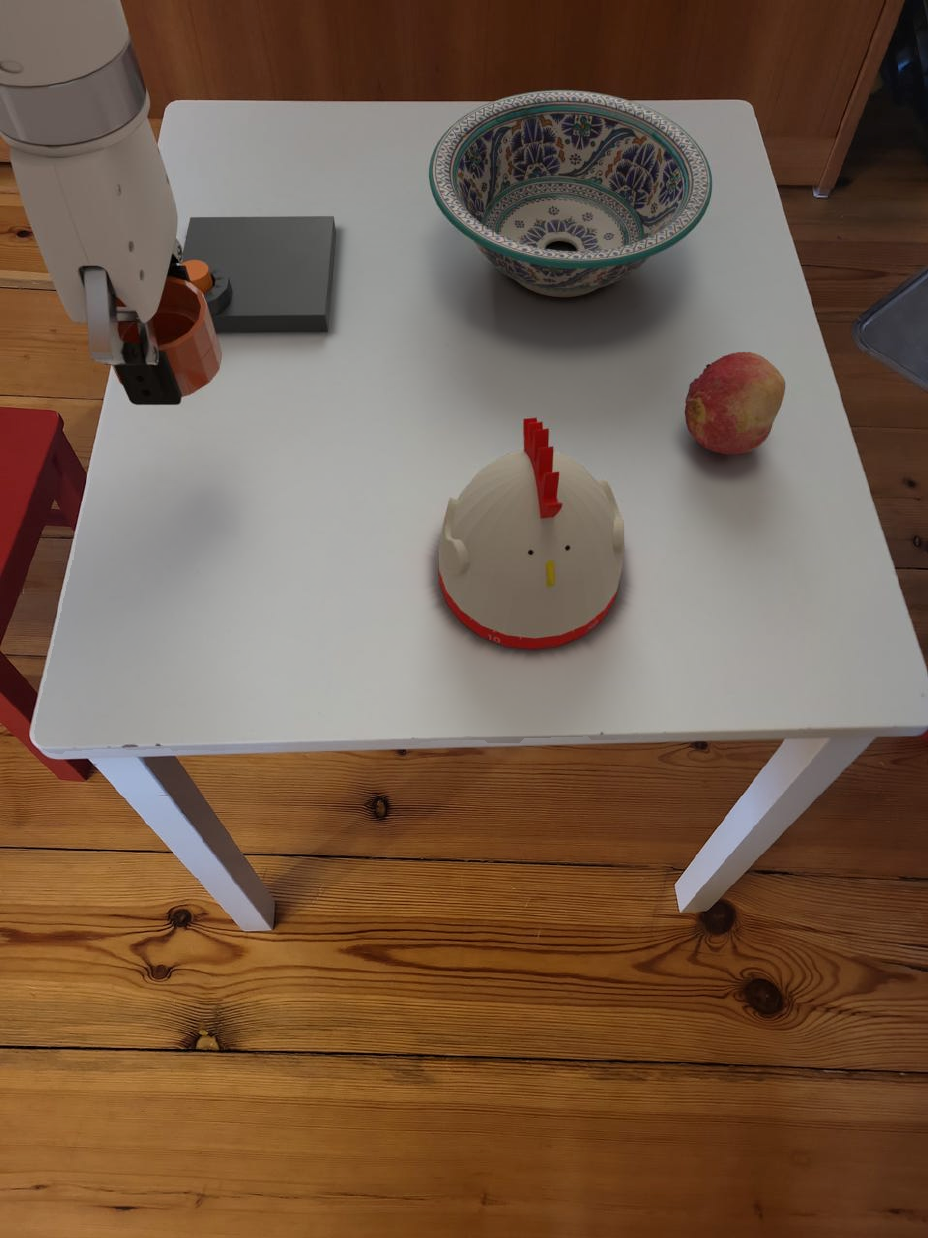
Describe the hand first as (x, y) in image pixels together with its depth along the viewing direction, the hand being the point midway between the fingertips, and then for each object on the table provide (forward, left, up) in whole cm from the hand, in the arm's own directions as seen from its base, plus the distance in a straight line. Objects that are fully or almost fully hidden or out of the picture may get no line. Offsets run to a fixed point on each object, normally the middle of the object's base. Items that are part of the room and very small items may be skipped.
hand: (167, 356), depth 59 cm
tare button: (-4, +22, -13) cm, 26 cm away
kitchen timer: (+24, -7, -16) cm, 30 cm away
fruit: (+41, +6, -16) cm, 45 cm away
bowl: (+29, +29, -16) cm, 45 cm away
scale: (0, +27, -16) cm, 31 cm away
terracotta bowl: (0, 0, -1) cm, 1 cm away
